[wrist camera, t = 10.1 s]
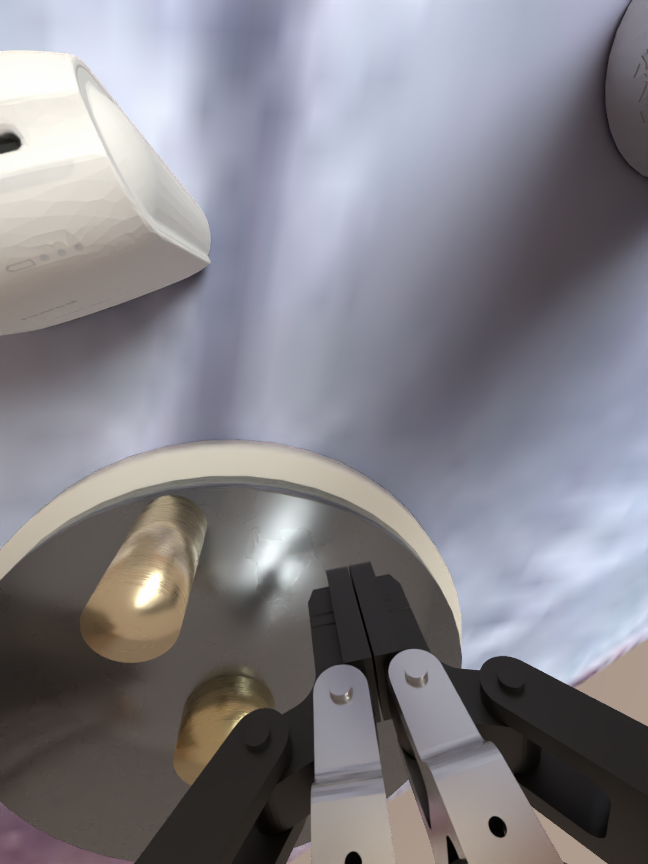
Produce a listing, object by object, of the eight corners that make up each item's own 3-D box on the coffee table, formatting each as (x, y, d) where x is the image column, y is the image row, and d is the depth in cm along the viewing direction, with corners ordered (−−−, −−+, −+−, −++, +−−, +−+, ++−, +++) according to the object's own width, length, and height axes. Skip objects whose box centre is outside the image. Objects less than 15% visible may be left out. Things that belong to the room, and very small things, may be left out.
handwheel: (-129, 535, 18) (-387, 688, 11) (440, 431, 20) (534, 503, 13) (74, 875, 27) (5, 1082, 20) (456, 777, 29) (517, 931, 22)
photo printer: (20, 343, 19) (-378, 413, 7) (-37, 247, 17) (-651, 142, 6) (227, 270, 19) (165, 225, 7) (188, 171, 18) (37, -79, 6)
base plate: (294, 332, 20) (297, 336, 18) (512, 664, 30) (528, 689, 28) (-140, 629, 22) (-177, 660, 20) (197, 852, 32) (193, 887, 30)
